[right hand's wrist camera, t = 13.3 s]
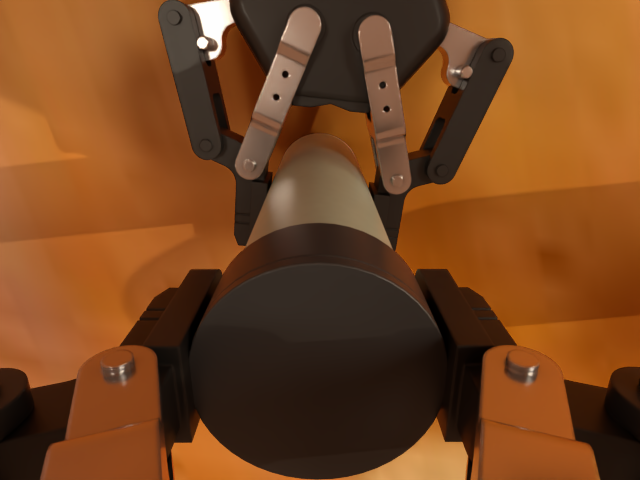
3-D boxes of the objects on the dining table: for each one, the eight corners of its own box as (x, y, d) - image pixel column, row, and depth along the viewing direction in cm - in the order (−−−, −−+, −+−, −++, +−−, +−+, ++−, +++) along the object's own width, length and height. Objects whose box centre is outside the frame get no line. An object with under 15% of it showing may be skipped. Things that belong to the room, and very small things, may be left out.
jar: (373, 159, 26) (477, 334, 9) (332, 224, 28) (353, 483, 10) (304, 117, 25) (272, 222, 8) (265, 186, 27) (168, 400, 10)
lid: (467, 288, 11) (503, 343, 9) (351, 434, 12) (358, 511, 10) (276, 179, 10) (264, 210, 8) (178, 353, 11) (144, 419, 9)
